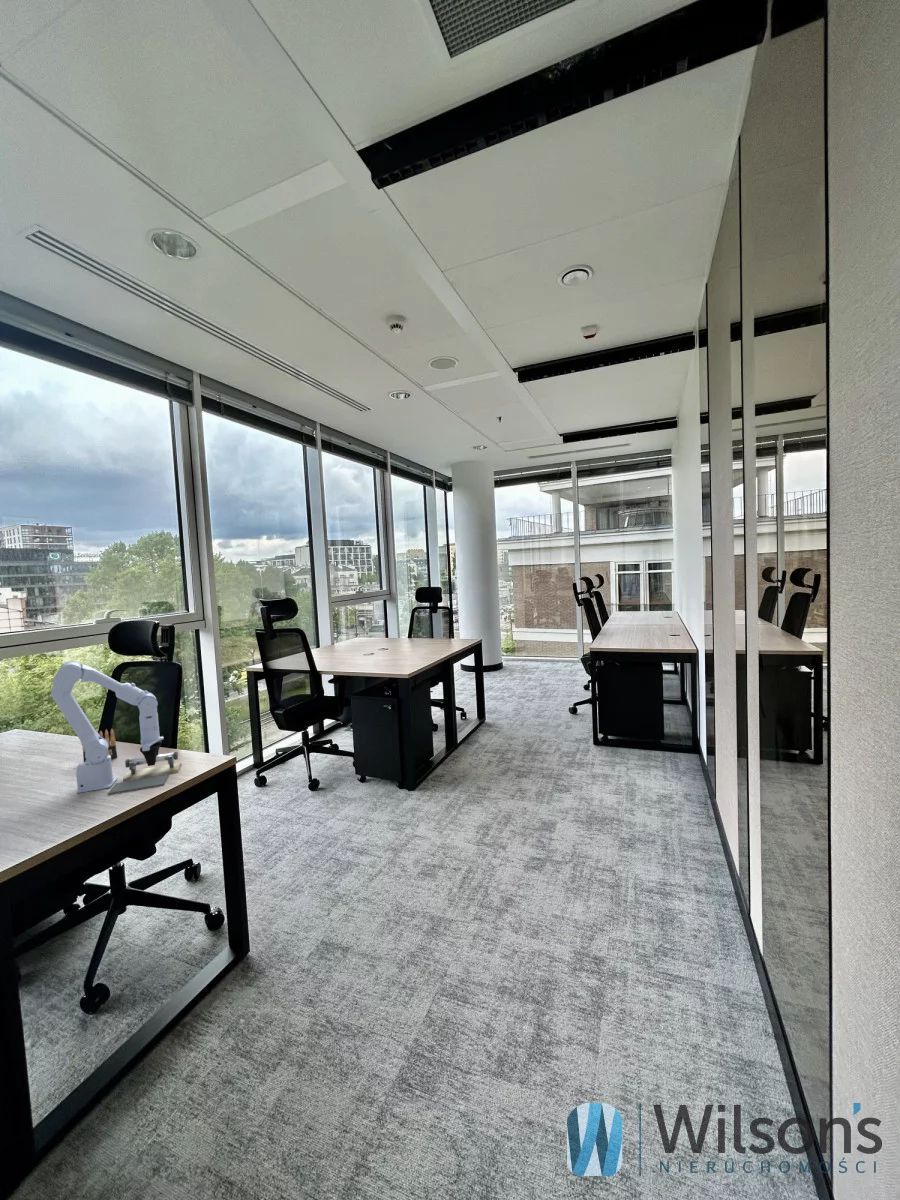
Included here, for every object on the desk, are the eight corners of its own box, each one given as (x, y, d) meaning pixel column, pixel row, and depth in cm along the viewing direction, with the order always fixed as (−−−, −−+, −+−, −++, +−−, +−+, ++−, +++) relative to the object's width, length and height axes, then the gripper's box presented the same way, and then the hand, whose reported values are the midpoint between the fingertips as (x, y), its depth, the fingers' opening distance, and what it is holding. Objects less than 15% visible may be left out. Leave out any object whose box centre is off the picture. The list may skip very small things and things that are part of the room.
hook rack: (123, 781, 165) (121, 765, 165) (128, 773, 172) (127, 758, 172) (178, 772, 171) (176, 756, 171) (181, 765, 178) (180, 750, 177)
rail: (125, 768, 167) (124, 761, 167) (127, 765, 170) (127, 758, 170) (176, 760, 173) (176, 753, 173) (178, 757, 175) (177, 750, 175)
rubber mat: (108, 795, 155) (107, 793, 155) (115, 785, 162) (115, 783, 162) (163, 785, 161) (163, 783, 161) (168, 776, 168) (168, 774, 168)
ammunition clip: (83, 765, 182) (80, 734, 181) (83, 763, 184) (80, 733, 183) (117, 757, 188) (114, 728, 188) (117, 756, 190) (114, 727, 189)
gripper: (157, 731, 165) (160, 769, 166) (166, 719, 179) (169, 754, 180) (134, 734, 163) (137, 773, 164) (144, 722, 176) (147, 758, 177)
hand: (152, 763), depth 171 cm, fingers closed on rail, 2 cm apart
